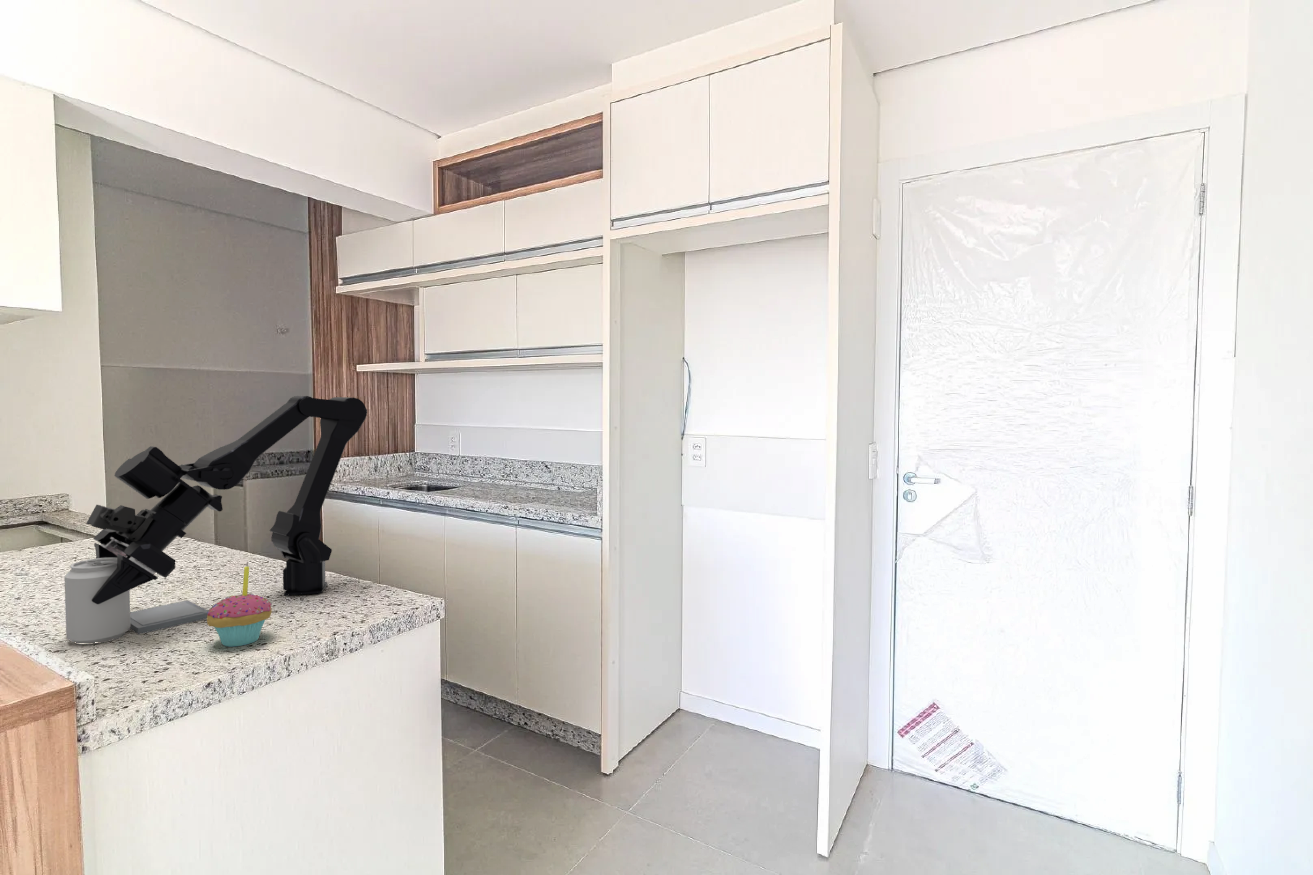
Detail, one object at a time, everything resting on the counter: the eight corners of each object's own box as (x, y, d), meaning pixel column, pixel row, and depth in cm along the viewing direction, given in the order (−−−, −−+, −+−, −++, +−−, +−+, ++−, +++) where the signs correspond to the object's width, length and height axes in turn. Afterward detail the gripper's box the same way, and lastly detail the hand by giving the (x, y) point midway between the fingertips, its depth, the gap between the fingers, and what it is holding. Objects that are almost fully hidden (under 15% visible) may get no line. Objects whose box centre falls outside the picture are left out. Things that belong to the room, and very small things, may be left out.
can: (93, 648, 95) (90, 569, 94) (53, 643, 96) (50, 565, 95) (143, 631, 102) (141, 557, 101) (105, 626, 103) (103, 553, 103)
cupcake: (228, 631, 103) (227, 557, 102) (283, 630, 103) (282, 557, 103) (194, 652, 94) (192, 572, 93) (255, 651, 95) (253, 572, 94)
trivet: (187, 605, 114) (187, 599, 114) (211, 617, 109) (210, 611, 109) (117, 620, 106) (117, 614, 106) (138, 634, 100) (138, 627, 100)
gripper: (108, 480, 106) (18, 558, 98) (148, 491, 95) (51, 580, 87) (166, 520, 113) (86, 596, 105) (209, 534, 102) (125, 621, 94)
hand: (86, 597), depth 97 cm, fingers closed on can, 7 cm apart
